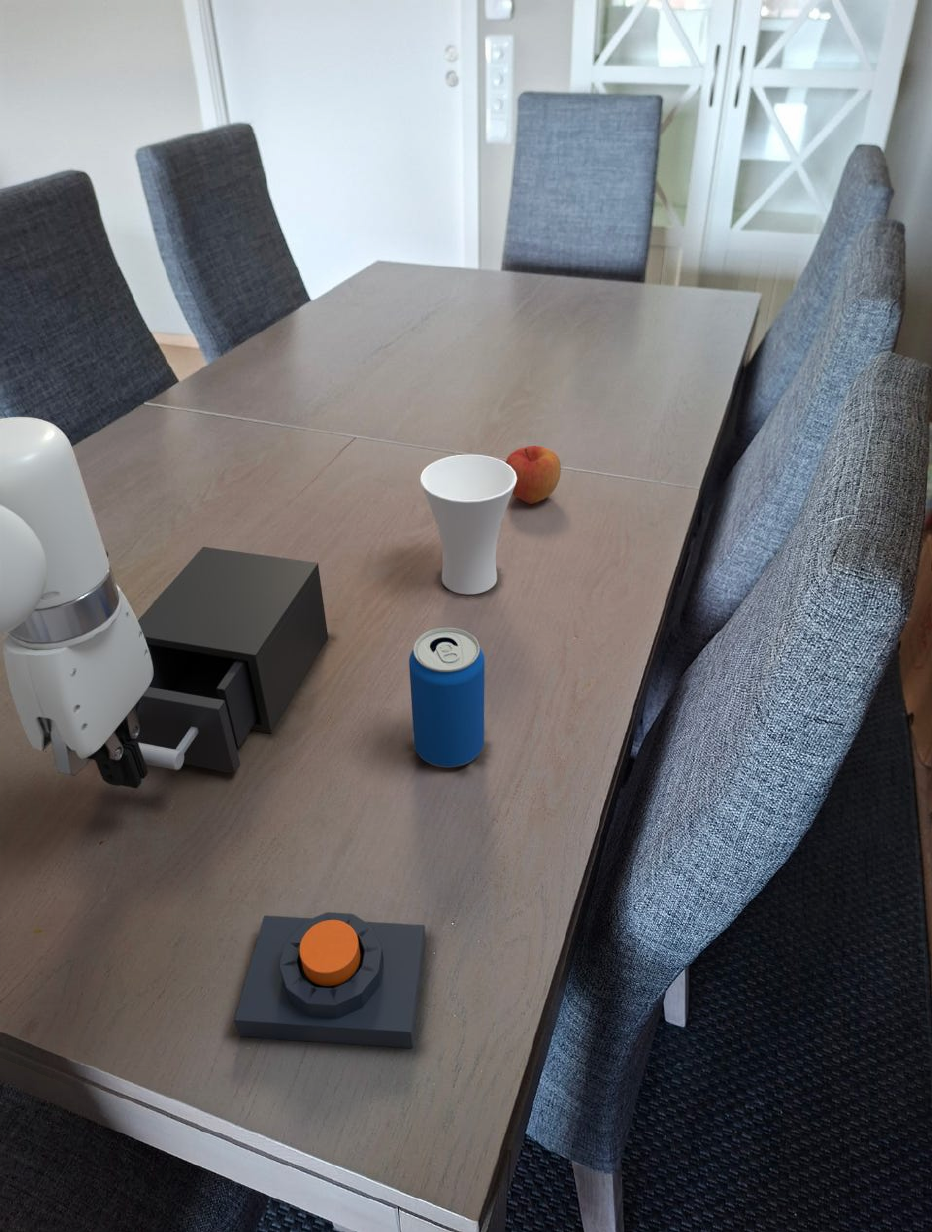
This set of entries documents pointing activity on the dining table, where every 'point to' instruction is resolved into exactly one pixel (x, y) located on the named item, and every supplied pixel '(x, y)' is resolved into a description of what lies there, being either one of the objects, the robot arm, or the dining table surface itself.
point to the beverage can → (447, 697)
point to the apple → (534, 472)
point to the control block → (344, 1013)
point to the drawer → (195, 710)
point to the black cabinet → (246, 620)
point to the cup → (468, 516)
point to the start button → (330, 952)
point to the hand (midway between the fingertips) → (126, 777)
